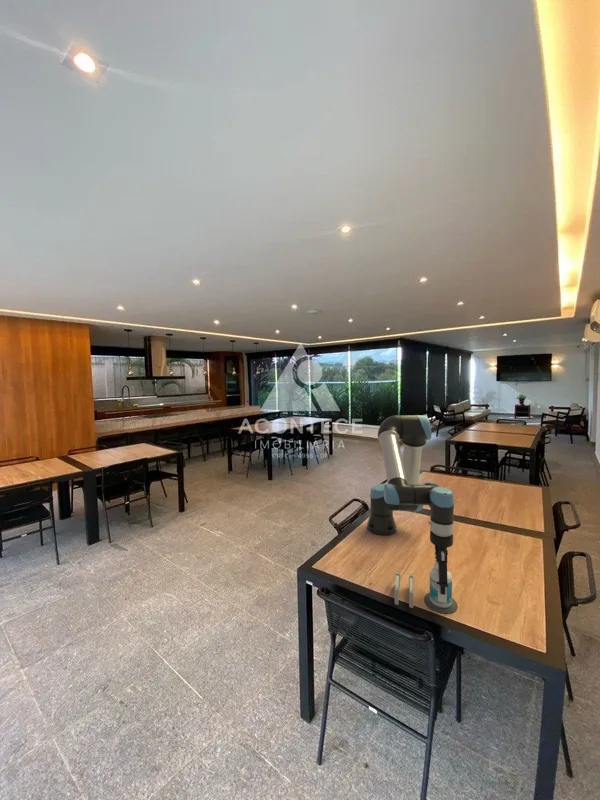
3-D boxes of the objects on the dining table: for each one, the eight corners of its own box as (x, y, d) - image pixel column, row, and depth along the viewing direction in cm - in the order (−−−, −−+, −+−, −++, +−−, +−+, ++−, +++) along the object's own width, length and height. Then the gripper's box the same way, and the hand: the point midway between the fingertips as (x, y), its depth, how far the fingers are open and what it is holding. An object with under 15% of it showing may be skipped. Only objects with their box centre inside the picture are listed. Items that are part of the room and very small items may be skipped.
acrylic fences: (395, 584, 129) (395, 571, 128) (413, 588, 127) (413, 574, 126) (394, 604, 118) (394, 589, 117) (413, 608, 116) (413, 593, 115)
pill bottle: (445, 594, 122) (446, 559, 121) (455, 608, 115) (456, 571, 113) (425, 595, 122) (426, 560, 121) (434, 609, 114) (435, 572, 113)
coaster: (423, 590, 125) (423, 589, 125) (455, 596, 122) (455, 594, 122) (424, 609, 115) (424, 608, 115) (459, 616, 111) (459, 615, 111)
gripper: (428, 516, 129) (427, 567, 131) (432, 548, 106) (431, 610, 107) (449, 518, 127) (448, 570, 129) (457, 552, 103) (456, 615, 105)
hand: (440, 588), depth 118 cm, fingers open, 13 cm apart
